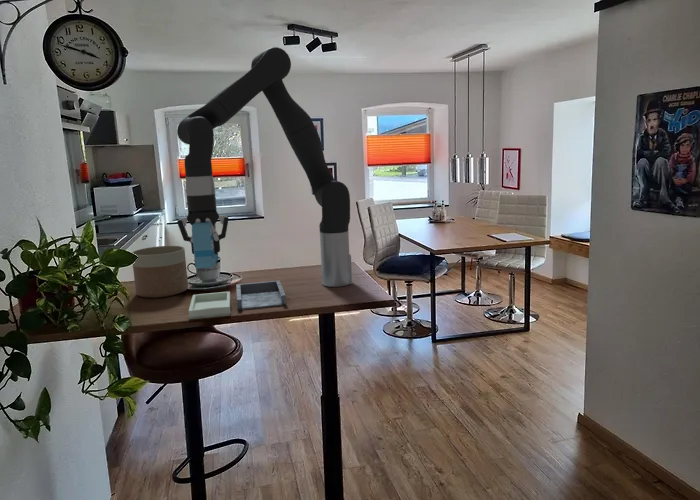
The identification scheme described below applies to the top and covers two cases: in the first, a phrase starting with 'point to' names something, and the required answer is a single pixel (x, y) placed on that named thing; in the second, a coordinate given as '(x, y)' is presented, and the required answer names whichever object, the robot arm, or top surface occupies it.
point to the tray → (210, 305)
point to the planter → (160, 271)
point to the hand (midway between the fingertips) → (206, 254)
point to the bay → (260, 295)
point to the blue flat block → (204, 245)
